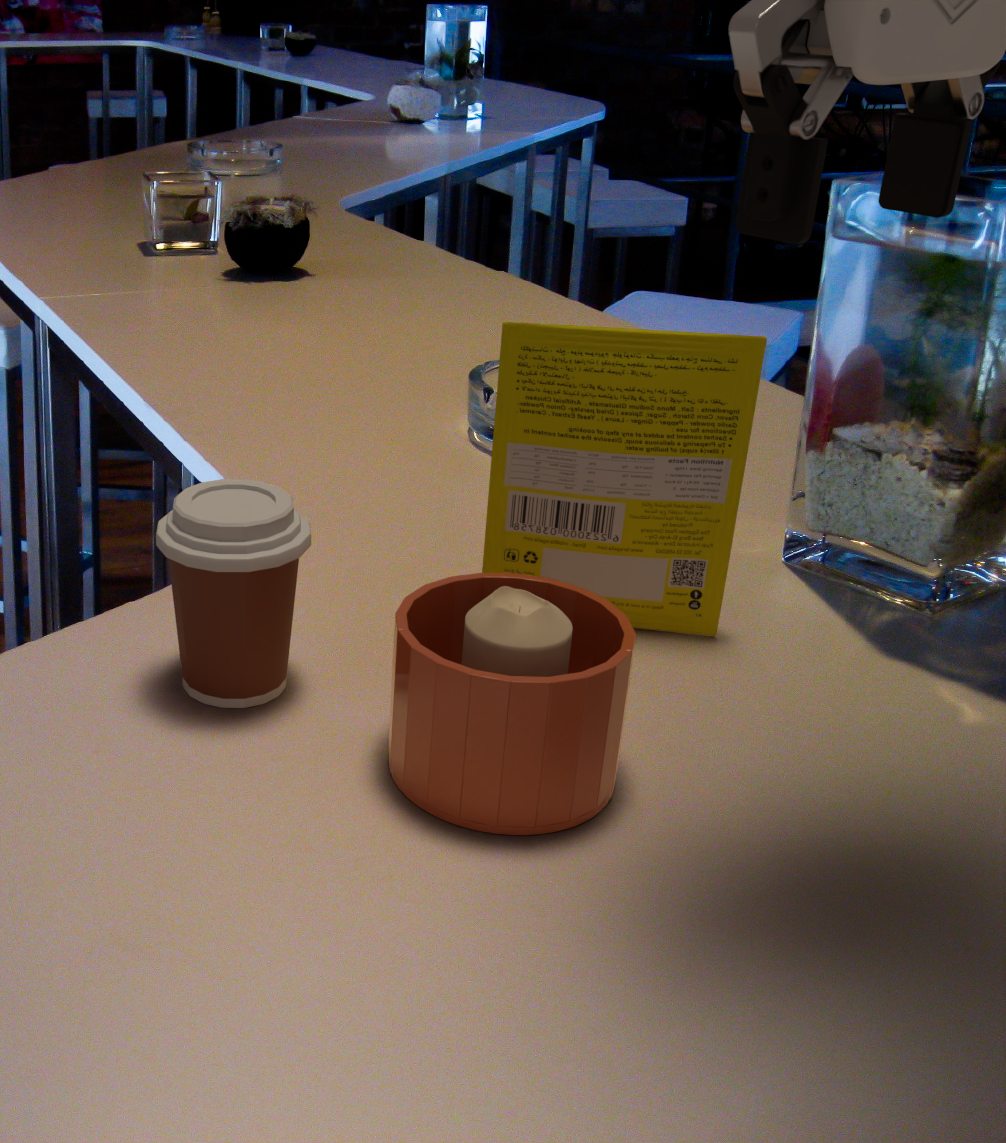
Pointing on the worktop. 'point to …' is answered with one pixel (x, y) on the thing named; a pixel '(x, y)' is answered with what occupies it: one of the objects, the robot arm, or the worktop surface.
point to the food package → (622, 464)
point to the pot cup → (507, 712)
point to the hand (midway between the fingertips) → (845, 224)
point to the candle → (517, 635)
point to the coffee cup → (233, 587)
